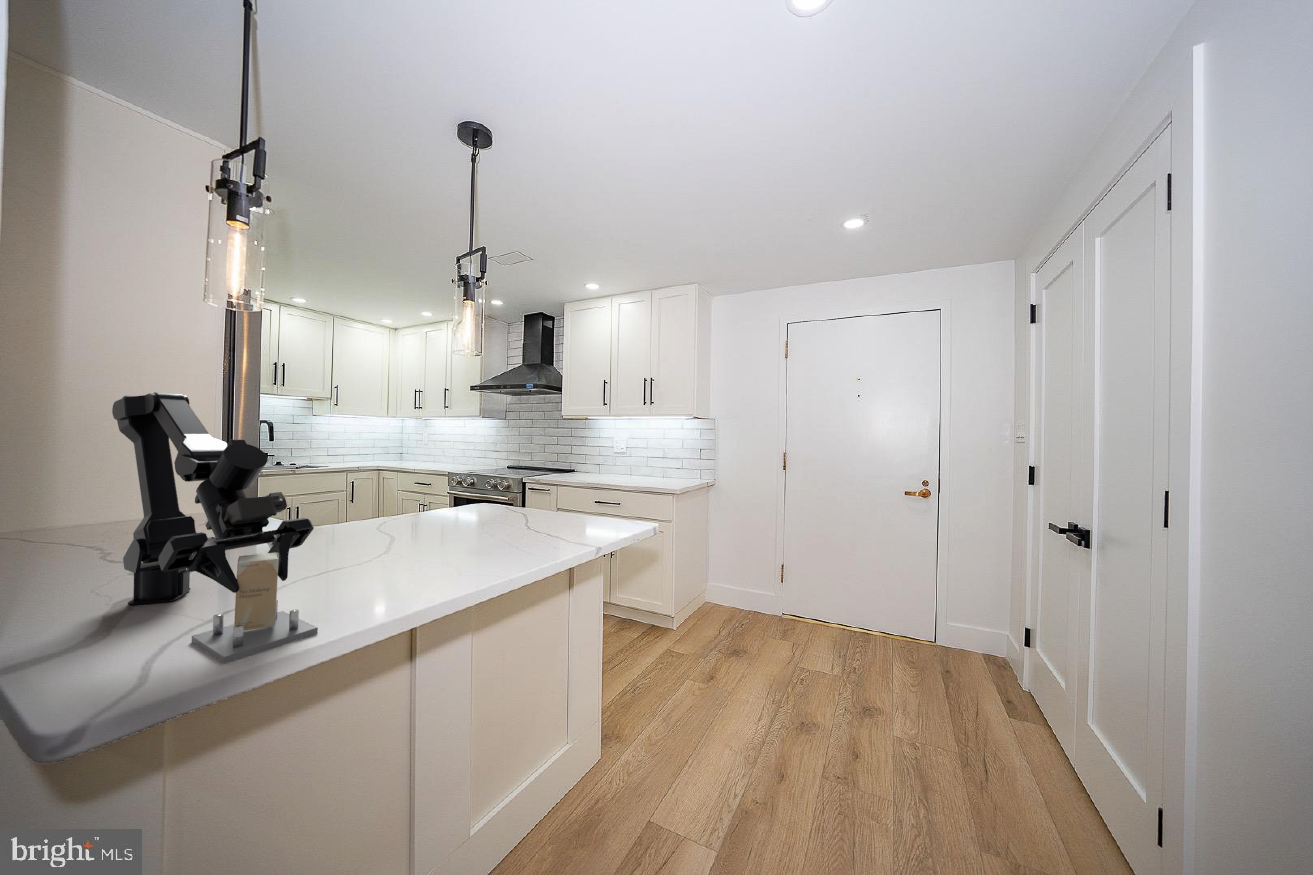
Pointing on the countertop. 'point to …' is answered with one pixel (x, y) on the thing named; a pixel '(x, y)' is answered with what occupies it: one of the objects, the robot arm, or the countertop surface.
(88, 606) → the countertop surface
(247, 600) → the box
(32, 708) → the countertop surface
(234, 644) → the pin tray
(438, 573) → the countertop surface
